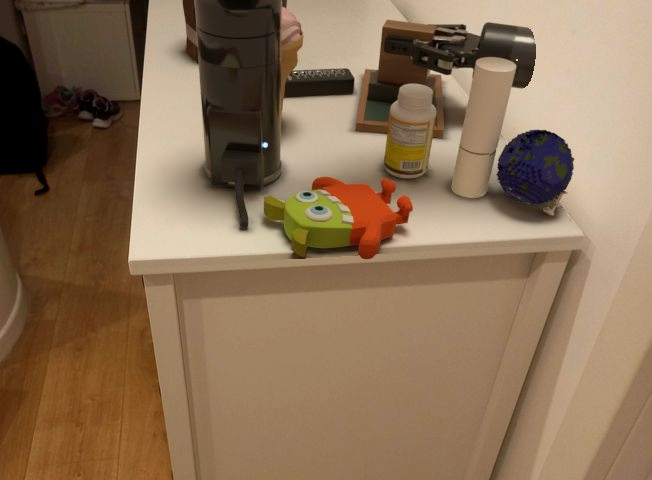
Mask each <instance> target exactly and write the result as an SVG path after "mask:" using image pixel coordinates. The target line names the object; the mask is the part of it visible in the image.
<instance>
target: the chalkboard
mask: <svg viewBox="0 0 652 480" xmlns="http://www.w3.org/2000/svg"><path fill="white" fill-rule="evenodd" d="M376 70H377V69H370V68H364V73H363V80H362V85H361V92H360V97H359V104H358V109H357V115H356V122H355V131H356V132H368V133H378V134H379V133H380V134H387V132H388V123H389V114H390V108H391V105H392V103H386V102H379V101H373V100H367V96H368V85H369V82H370V80H371V78H372V77H373V75H374V73H375V71H376ZM429 78H436V79H437V80H436V86H435V92H434V96H433V99H432V104H433V105H434V107H435V108H436V111H437V113H436V120H435V126H434V132H433V138H437V139H438V138H439V139H443V138H444V133H445V121H444V99H443V83H442V82H443V81H442V74H434V73H430V75H429Z"/></svg>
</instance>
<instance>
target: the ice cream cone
mask: <svg viewBox="0 0 652 480" xmlns="http://www.w3.org/2000/svg"><path fill="white" fill-rule="evenodd" d="M303 44H304V31H303V30H302V25H301V22H300V21H299V20H298V19H297V17H296V15H295V14H294V13H293V12H292V11H291V10H290V9H288V8H287V7H286V8H284V7H282V52H281V116H283V115H282V114H283V109H284V99H285V97H284V90H285V83H286V80H287V78H288V76H289V75H290V73H291V72H292V71H293V70H295V68H296V67H297V66H298V63H299V58H298V57H299V56H298V52H299V51H300V50H301V49H302V47H303Z"/></svg>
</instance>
